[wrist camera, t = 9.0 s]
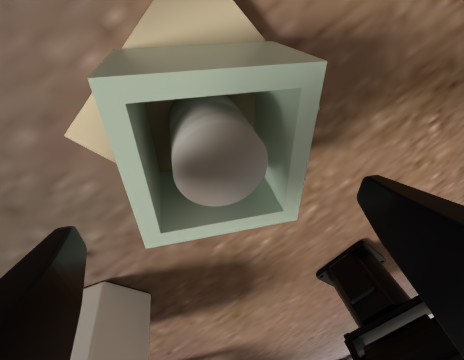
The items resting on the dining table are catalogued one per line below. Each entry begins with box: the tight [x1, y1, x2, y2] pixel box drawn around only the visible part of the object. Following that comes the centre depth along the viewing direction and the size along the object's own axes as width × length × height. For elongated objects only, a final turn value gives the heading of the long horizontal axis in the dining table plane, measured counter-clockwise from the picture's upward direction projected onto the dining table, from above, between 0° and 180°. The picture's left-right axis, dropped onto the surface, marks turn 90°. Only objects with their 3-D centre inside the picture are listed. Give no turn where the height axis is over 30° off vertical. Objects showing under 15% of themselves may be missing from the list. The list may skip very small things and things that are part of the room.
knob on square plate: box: [64, 0, 321, 207], centre depth 12 cm, size 10×10×6 cm
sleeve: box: [88, 41, 327, 249], centre depth 12 cm, size 7×7×5 cm
